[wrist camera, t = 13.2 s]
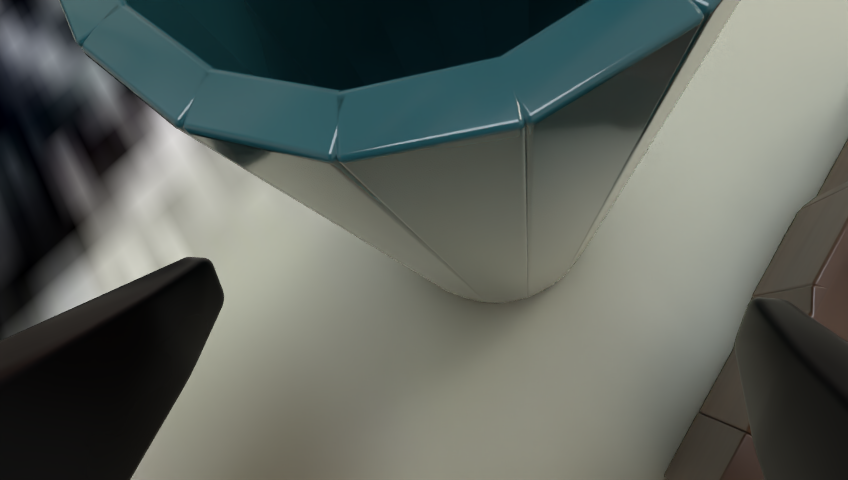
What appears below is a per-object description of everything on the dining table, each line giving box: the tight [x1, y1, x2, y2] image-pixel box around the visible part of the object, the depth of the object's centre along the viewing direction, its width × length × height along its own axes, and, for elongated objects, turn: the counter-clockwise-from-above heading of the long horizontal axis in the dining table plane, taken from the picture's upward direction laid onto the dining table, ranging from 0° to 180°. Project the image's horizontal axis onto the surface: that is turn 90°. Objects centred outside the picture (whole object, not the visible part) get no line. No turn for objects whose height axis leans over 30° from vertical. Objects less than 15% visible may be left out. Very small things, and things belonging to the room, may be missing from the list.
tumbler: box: [59, 0, 741, 303], centre depth 10 cm, size 6×6×13 cm
